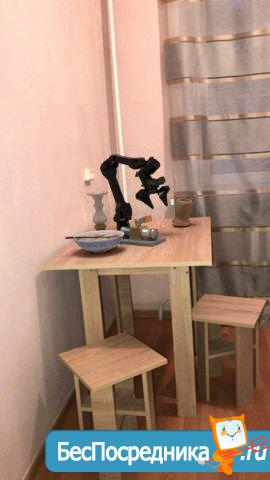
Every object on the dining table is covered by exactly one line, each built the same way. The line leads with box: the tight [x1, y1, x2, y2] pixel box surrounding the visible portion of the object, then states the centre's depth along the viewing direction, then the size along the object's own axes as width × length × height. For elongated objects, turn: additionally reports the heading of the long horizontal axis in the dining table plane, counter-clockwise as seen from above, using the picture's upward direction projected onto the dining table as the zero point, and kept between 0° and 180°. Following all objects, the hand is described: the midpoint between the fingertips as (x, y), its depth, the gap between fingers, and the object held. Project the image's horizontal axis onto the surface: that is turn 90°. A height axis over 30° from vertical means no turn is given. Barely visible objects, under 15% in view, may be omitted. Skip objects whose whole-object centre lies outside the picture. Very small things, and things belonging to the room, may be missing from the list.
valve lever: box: [134, 214, 153, 226], centre depth 203 cm, size 12×3×3 cm, turn 145°
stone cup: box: [171, 197, 194, 227], centre depth 236 cm, size 15×12×15 cm
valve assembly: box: [118, 224, 167, 247], centre depth 200 cm, size 22×12×8 cm, turn 55°
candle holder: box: [86, 190, 109, 231], centre depth 209 cm, size 11×11×24 cm
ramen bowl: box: [64, 229, 124, 254], centre depth 188 cm, size 25×23×8 cm
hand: (160, 207), depth 203 cm, fingers open, 9 cm apart
